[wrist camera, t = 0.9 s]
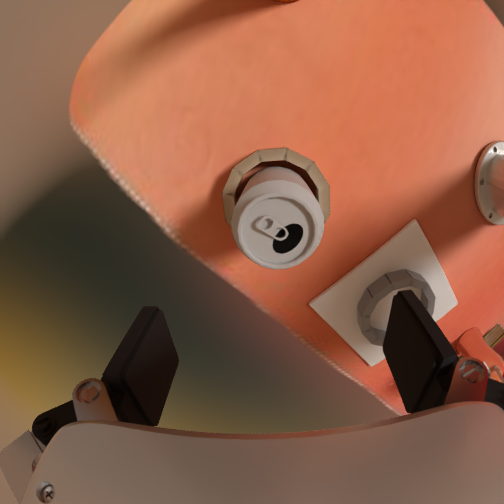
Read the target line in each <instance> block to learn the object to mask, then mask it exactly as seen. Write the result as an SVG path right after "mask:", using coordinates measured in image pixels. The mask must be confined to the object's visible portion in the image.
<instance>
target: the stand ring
mask: <svg viewBox="0 0 504 504" xmlns="http://www.w3.org/2000/svg"><path fill="white" fill-rule="evenodd" d="M278 160H286V161H288V162H290V163H292V164H294V165H296V166H298V167H300V168H303V169H305V170H306V172H307V173H308V175H309V176H310V178H311V179H312V181H313V182H314V184H315V192H316V199H317V201H318V203H319V205H320V208H321V210H322V213H323V216H324V224H325V222H326V220H327V218H328V217H329V215H330V214H329V213H330V186H329V184H328V183H327V181H326V179H325V178H324V176H323V175H322V173H321V172H320V170H319V169H318V167H317V165H316V164H315V162H313V161H312V160H311V159H309V158H307V157H305V156H303V155H301V154H299V153H297V152H295V151H293V150H291V149H289V148H286V147H283V148H269V149H259V150H257V151H255V152H254V153H252V154H251V155H250V156H248V157H247V158H245V159H244V160H242V161H241V162H240V163H238V164H237V165H236V166H235V167H234V168H233V169H232V171H231V174H230V176H229V178H228V181H227V183H226V185H225V187H224V190H223V192H222V193H223V194H222V198H223V205H224V213H225V220H226V222H227V223H228V224H229V226H230V227H231V228H232V226H231V221H232V216H233V211H234V208H235V206H236V204H237V202H238V200H237V192H236V190H237V188H238V186H239V184H240V181H241V179H242V177H243V175H244V174H245V173H246V172H247V171H249V170H250V169H252V168H253V167H255V166H256V165H257V164H259V163H260V162H265V161H278Z"/></svg>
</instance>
